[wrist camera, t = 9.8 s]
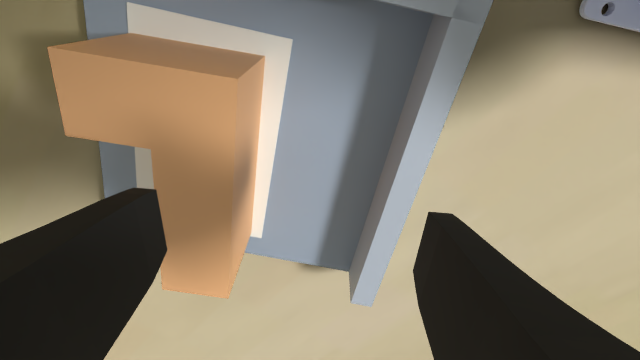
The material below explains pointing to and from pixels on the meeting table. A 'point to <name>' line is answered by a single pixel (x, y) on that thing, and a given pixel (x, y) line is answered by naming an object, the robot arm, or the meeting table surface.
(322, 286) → the meeting table surface
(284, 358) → the meeting table surface
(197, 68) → the bracket
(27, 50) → the meeting table surface
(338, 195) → the board
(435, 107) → the walls
